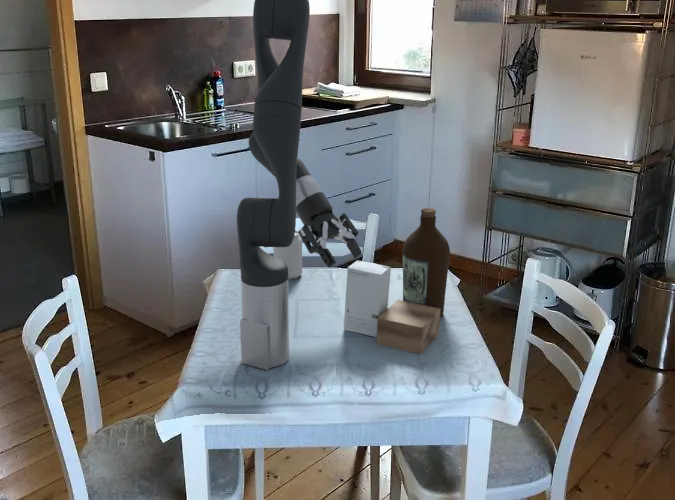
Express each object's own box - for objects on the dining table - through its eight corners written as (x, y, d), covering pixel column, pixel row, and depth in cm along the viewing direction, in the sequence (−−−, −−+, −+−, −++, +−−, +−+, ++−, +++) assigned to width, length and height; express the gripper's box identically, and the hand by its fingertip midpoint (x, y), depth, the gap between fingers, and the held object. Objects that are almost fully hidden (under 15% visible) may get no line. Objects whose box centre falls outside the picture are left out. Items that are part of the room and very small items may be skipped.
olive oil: (419, 300, 178) (424, 200, 169) (455, 313, 171) (462, 210, 162) (390, 313, 170) (394, 209, 162) (427, 327, 163) (433, 219, 155)
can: (304, 271, 196) (304, 228, 192) (300, 281, 189) (299, 237, 185) (276, 269, 197) (275, 227, 193) (271, 279, 190) (270, 235, 186)
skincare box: (343, 330, 161) (344, 267, 156) (354, 320, 166) (355, 258, 162) (379, 338, 158) (381, 273, 153) (388, 327, 163) (391, 264, 158)
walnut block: (420, 354, 151) (422, 327, 149) (376, 343, 155) (377, 317, 153) (439, 333, 160) (440, 308, 158) (396, 324, 165) (397, 299, 163)
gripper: (294, 197, 157) (333, 260, 154) (338, 185, 167) (376, 244, 164) (277, 216, 162) (314, 277, 159) (321, 203, 172) (357, 261, 169)
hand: (345, 260), depth 161 cm, fingers open, 8 cm apart
